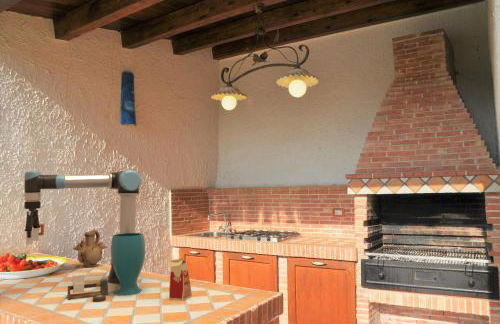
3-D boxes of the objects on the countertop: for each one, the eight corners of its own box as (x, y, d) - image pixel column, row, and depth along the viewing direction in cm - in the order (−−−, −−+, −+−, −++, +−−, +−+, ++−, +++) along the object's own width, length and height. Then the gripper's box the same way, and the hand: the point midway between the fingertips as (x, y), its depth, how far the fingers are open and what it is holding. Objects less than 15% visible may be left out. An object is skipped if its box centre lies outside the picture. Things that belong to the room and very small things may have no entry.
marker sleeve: (83, 289, 229) (83, 273, 230) (84, 291, 225) (84, 274, 226) (72, 291, 227) (72, 274, 227) (73, 292, 223) (73, 276, 223)
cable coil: (104, 298, 223) (104, 293, 223) (106, 300, 218) (106, 296, 218) (92, 299, 220) (92, 295, 221) (93, 302, 215) (93, 298, 215)
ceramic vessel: (72, 266, 310) (72, 230, 311) (99, 262, 322) (99, 227, 323) (80, 270, 296) (80, 232, 297) (109, 266, 308) (109, 230, 308)
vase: (134, 286, 247) (134, 232, 249) (151, 291, 235) (151, 234, 236) (105, 292, 235) (105, 235, 237) (121, 297, 223) (121, 237, 224)
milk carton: (191, 296, 225) (191, 256, 226) (183, 300, 216) (182, 259, 217) (175, 294, 228) (175, 255, 228) (166, 299, 219) (166, 258, 220)
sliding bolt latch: (106, 292, 235) (106, 278, 236) (108, 295, 229) (108, 281, 229) (67, 296, 227) (67, 282, 227) (68, 299, 221) (68, 285, 221)
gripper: (30, 200, 241) (30, 239, 241) (18, 202, 217) (18, 246, 216) (45, 199, 243) (45, 238, 242) (35, 201, 219) (35, 245, 218)
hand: (32, 242), depth 229 cm, fingers open, 13 cm apart
